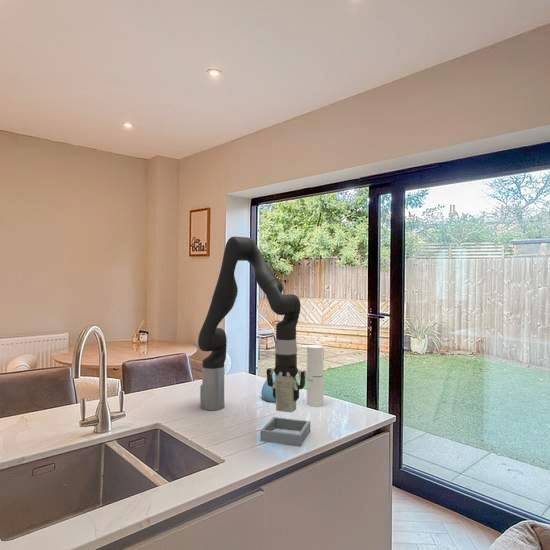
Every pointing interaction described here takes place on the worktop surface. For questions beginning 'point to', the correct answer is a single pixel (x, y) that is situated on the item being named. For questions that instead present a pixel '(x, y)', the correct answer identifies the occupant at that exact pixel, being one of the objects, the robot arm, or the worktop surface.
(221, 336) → the robot arm
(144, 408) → the worktop surface
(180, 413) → the worktop surface
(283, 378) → the skincare box
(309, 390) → the cylindrical container
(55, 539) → the worktop surface
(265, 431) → the box
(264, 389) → the sugar bowl
